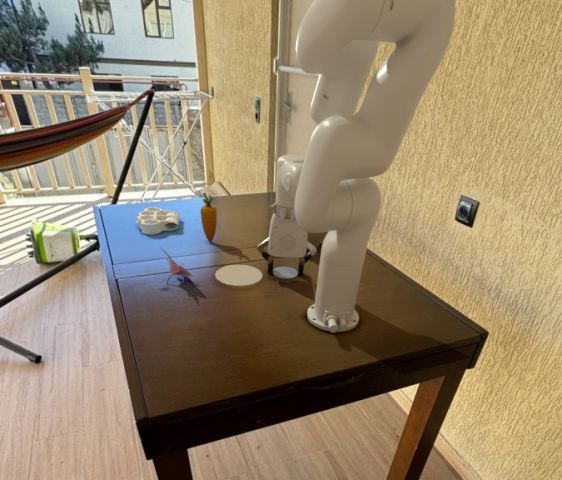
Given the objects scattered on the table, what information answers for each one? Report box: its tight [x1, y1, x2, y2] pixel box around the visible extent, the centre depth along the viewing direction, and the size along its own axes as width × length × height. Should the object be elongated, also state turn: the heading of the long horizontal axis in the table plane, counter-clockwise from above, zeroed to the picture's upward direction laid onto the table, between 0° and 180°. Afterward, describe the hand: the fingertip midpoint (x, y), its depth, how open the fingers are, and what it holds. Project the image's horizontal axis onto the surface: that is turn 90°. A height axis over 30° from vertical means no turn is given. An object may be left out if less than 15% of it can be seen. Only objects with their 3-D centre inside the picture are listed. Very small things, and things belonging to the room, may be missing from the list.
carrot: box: [200, 192, 218, 243], centre depth 123 cm, size 5×5×15 cm
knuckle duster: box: [133, 206, 180, 236], centre depth 135 cm, size 3×18×15 cm
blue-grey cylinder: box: [272, 266, 299, 280], centre depth 111 cm, size 7×7×2 cm
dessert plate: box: [214, 264, 263, 287], centre depth 108 cm, size 13×13×1 cm
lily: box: [159, 246, 194, 285], centre depth 102 cm, size 12×12×10 cm
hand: (285, 275), depth 111 cm, fingers closed on blue-grey cylinder, 7 cm apart
